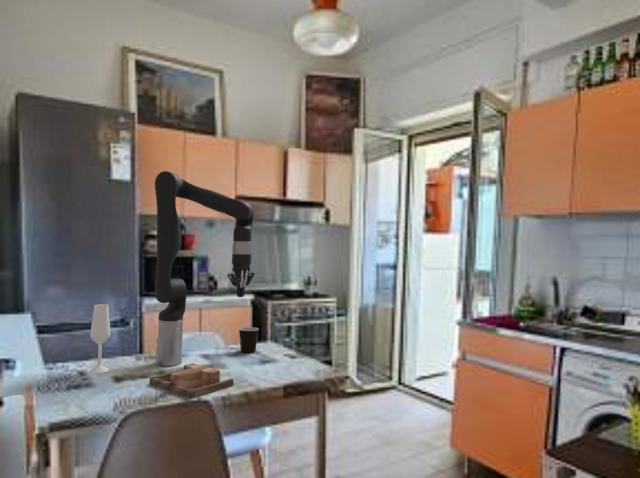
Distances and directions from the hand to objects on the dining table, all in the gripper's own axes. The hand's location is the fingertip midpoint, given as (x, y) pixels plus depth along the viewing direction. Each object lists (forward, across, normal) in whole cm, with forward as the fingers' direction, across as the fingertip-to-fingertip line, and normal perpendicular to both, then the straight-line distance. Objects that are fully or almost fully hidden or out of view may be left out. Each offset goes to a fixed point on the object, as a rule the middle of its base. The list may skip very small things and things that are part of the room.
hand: (240, 296), depth 182 cm
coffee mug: (+27, -20, -14) cm, 37 cm away
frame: (+27, +26, +6) cm, 38 cm away
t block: (+27, +28, +6) cm, 39 cm away
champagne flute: (+27, +39, -32) cm, 57 cm away
